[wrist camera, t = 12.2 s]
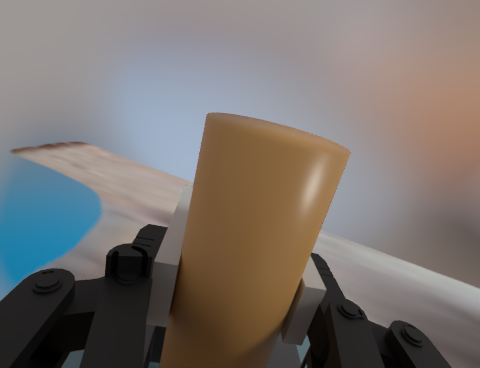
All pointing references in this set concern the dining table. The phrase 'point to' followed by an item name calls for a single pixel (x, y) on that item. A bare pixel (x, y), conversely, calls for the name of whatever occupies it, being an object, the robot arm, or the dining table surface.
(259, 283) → the cylinder
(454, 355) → the dining table surface
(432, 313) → the dining table surface
